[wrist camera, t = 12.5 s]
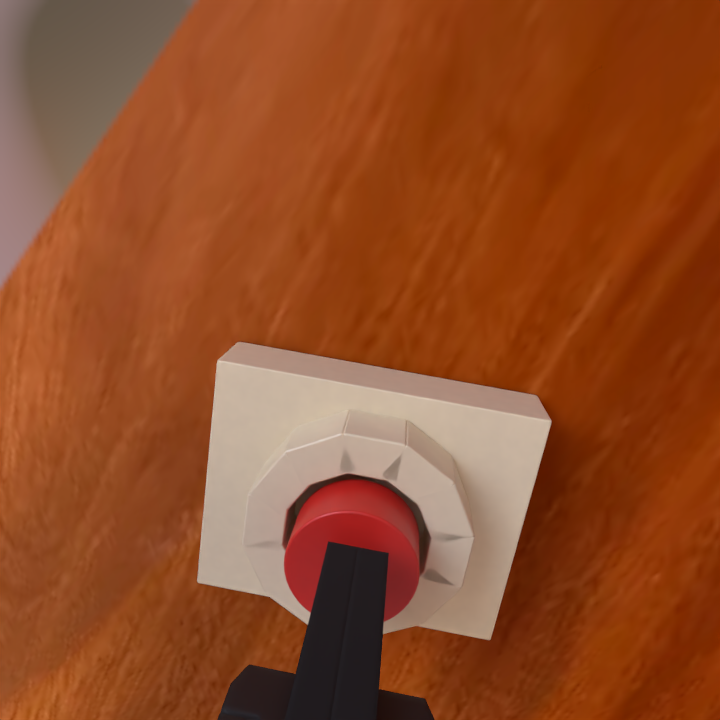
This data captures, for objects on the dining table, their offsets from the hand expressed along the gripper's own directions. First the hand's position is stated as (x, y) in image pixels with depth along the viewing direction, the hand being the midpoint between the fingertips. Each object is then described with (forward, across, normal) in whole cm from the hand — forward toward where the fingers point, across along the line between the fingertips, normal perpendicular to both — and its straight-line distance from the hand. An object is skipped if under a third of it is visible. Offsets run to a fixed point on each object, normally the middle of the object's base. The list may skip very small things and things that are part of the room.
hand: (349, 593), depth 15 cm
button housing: (+6, 0, 0) cm, 6 cm away
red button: (+3, 0, 0) cm, 3 cm away
